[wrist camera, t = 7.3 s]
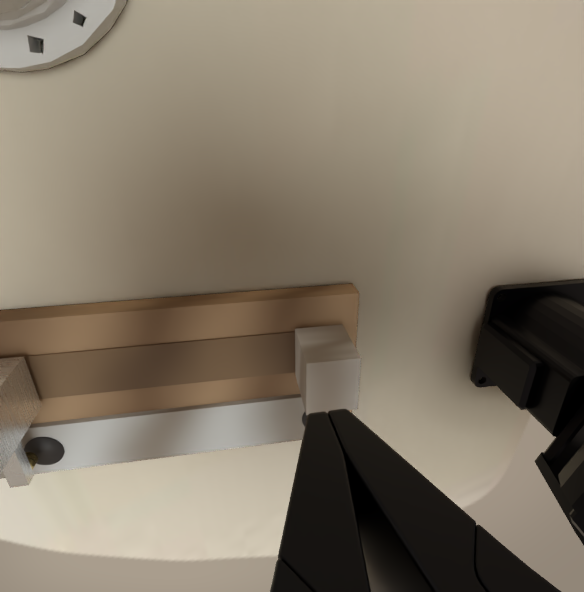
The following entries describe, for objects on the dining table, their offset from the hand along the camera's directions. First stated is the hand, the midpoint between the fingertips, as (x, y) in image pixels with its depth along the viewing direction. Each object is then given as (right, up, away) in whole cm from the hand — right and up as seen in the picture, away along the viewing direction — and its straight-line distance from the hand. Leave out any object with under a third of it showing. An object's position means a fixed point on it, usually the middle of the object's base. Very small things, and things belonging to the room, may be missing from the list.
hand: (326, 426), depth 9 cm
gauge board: (-7, -1, +12) cm, 15 cm away
